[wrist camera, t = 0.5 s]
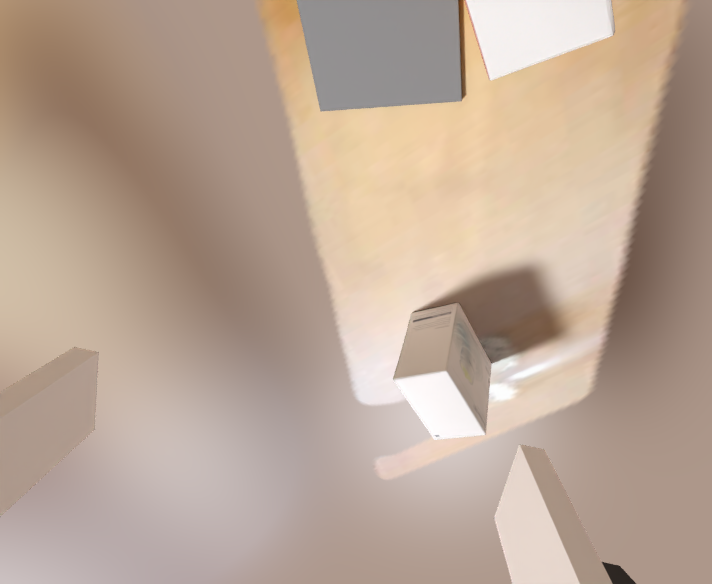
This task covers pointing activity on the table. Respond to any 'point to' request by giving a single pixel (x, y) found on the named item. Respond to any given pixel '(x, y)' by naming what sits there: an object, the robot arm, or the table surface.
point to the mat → (383, 52)
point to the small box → (535, 30)
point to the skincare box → (445, 373)
